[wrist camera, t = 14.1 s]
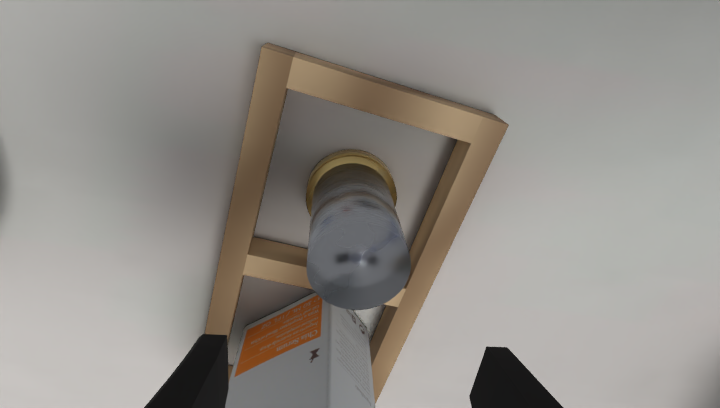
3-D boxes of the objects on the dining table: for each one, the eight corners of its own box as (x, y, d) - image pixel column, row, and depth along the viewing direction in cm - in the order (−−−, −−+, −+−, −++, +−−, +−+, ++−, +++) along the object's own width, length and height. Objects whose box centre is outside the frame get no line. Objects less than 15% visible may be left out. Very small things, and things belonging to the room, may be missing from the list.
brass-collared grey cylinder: (400, 154, 19) (431, 220, 13) (386, 231, 21) (407, 319, 15) (310, 144, 19) (301, 209, 13) (303, 224, 21) (293, 312, 15)
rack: (495, 115, 19) (508, 125, 17) (363, 401, 27) (365, 424, 25) (267, 42, 17) (261, 46, 15) (199, 375, 25) (191, 398, 23)
